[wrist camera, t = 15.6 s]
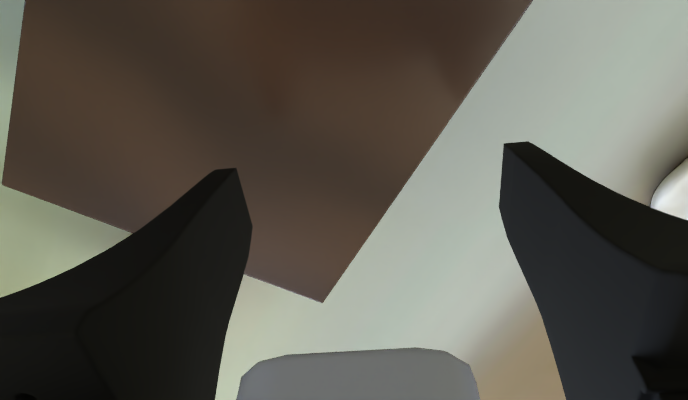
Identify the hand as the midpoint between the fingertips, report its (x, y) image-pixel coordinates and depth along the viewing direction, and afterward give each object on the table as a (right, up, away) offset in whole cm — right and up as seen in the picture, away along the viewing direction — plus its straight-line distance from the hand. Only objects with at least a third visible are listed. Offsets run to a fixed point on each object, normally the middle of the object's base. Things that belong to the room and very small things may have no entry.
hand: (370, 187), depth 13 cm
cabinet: (-4, +7, +8) cm, 11 cm away
